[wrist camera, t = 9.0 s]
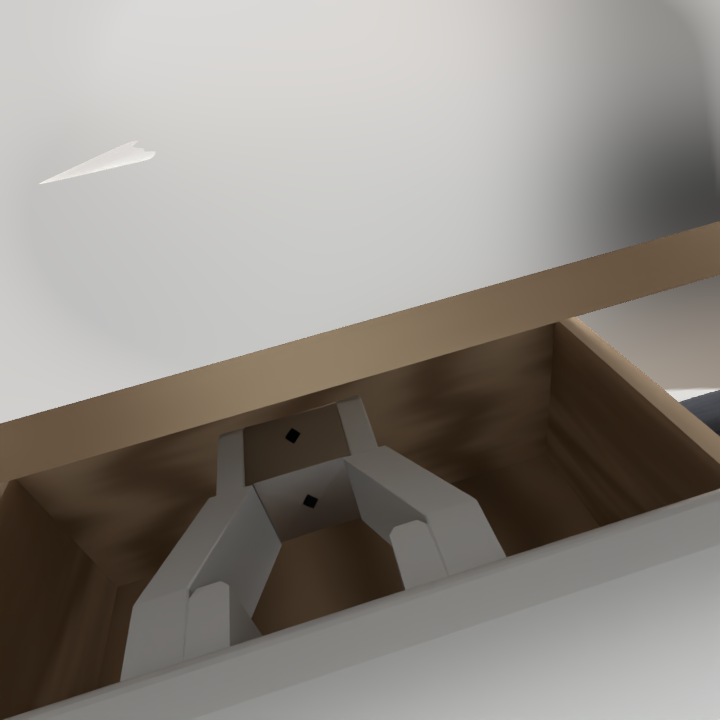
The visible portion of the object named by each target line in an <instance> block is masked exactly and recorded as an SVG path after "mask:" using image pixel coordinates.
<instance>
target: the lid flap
mask: <svg viewBox="0 0 720 720" xmlns="http://www.w3.org/2000/svg"><path fill="white" fill-rule="evenodd" d="M717 275H720V221H719V222H715V223H712V224H709V225H706V226H701V227H698V228H694V229H691V230H687V231H683V232H680V233H676V234H673V235H669V236H666V237H663V238H659V239H655V240H652V241H648V242H645V243H641V244H637V245H634V246H630V247H627V248H623V249H619V250H616V251H612V252H609V253H605V254H602V255H598V256H595V257H591V258H587V259H584V260H581V261H577V262H574V263H570V264H566V265H563V266H559V267H556V268H552V269H548V270H545V271H542V272H538V273H534V274H531V275H527V276H524V277H520V278H517V279H513V280H509V281H506V282H502V283H499V284H495V285H492V286H488V287H485V288H481V289H477V290H474V291H470V292H467V293H463V294H460V295H456V296H453V297H449V298H446V299H442V300H438V301H435V302H431V303H428V304H424V305H420V306H417V307H414V308H410V309H406V310H403V311H399V312H396V313H392V314H389V315H385V316H381V317H378V318H374V319H371V320H367V321H364V322H360V323H357V324H353V325H350V326H346V327H342V328H339V329H336V330H332V331H328V332H324V333H321V334H317V335H314V336H310V337H307V338H303V339H300V340H296V341H293V342H289V343H285V344H282V345H279V346H275V347H271V348H268V349H264V350H260V351H257V352H253V353H250V354H246V355H243V356H240V357H236V358H232V359H229V360H225V361H222V362H218V363H215V364H211V365H207V366H204V367H200V368H197V369H193V370H189V371H186V372H183V373H179V374H175V375H172V376H168V377H165V378H161V379H158V380H154V381H150V382H147V383H144V384H140V385H136V386H133V387H129V388H125V389H122V390H119V391H115V392H111V393H108V394H104V395H101V396H97V397H94V398H90V399H87V400H83V401H79V402H76V403H72V404H69V405H66V406H62V407H58V408H54V409H51V410H47V411H44V412H40V413H37V414H34V415H30V416H26V417H22V418H19V419H15V420H12V421H8V422H5V423H1V424H0V483H4V482H7V481H10V480H14V479H17V478H21V477H24V476H28V475H31V474H35V473H38V472H41V471H45V470H48V469H52V468H55V467H59V466H62V465H66V464H69V463H72V462H76V461H79V460H83V459H86V458H90V457H93V456H97V455H100V454H104V453H107V452H110V451H114V450H117V449H121V448H124V447H128V446H131V445H135V444H138V443H141V442H145V441H148V440H152V439H155V438H159V437H162V436H166V435H169V434H172V433H176V432H179V431H183V430H186V429H190V428H193V427H197V426H200V425H203V424H207V423H210V422H214V421H217V420H221V419H224V418H228V417H231V416H234V415H238V414H241V413H245V412H248V411H252V410H255V409H259V408H262V407H266V406H269V405H272V404H276V403H279V402H283V401H286V400H290V399H293V398H297V397H300V396H303V395H307V394H310V393H314V392H317V391H321V390H324V389H328V388H331V387H334V386H338V385H341V384H345V383H348V382H352V381H355V380H359V379H362V378H365V377H369V376H372V375H376V374H379V373H383V372H386V371H390V370H393V369H396V368H400V367H403V366H407V365H410V364H414V363H417V362H421V361H424V360H428V359H431V358H434V357H438V356H441V355H445V354H448V353H452V352H455V351H459V350H462V349H465V348H469V347H472V346H476V345H479V344H483V343H486V342H490V341H493V340H496V339H500V338H503V337H507V336H510V335H514V334H517V333H521V332H524V331H527V330H531V329H534V328H538V327H541V326H545V325H548V324H552V323H555V322H558V321H562V320H565V319H569V318H572V317H576V316H579V315H583V314H586V313H589V312H593V311H596V310H600V309H603V308H607V307H610V306H614V305H617V304H621V303H624V302H627V301H631V300H634V299H638V298H641V297H644V296H648V295H652V294H655V293H658V292H662V291H665V290H668V289H672V288H676V287H679V286H682V285H686V284H689V283H693V282H696V281H700V280H703V279H707V278H710V277H713V276H717Z"/></svg>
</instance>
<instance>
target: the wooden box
mask: <svg viewBox="0 0 720 720" xmlns="http://www.w3.org/2000/svg"><path fill="white" fill-rule="evenodd" d="M355 395H359V396H360V397H361V400H362V403H363V405H364V408H365V411H366V414H367V417H368V419H369V422H370V425H371V428H372V431H373V434H374V436H375V439H376V442H377V445H378V447H381V446H385V445H386V446H387V447H389V448H391V449H392V450H394V451H396V452H397V453H399V454H401V455H402V456H404V457H406V458H407V459H409V460H411V461H412V462H414V463H416V464H417V465H419V466H421V467H422V468H424V469H426V470H428V471H429V472H431V473H433V474H434V475H436V476H438V477H439V478H441V479H443V480H444V481H446V482H448V483H449V484H451V485H453V486H454V487H456V488H458V489H459V490H461V491H463V492H464V493H466V494H468V495H470V496H471V497H473V498H475V499H476V500H477V502H478V503H479V505H480V507H481V509H482V511H483V513H484V515H485V517H486V519H487V521H488V523H489V525H490V526H491V528H492V530H493V532H494V534H495V536H496V538H497V540H498V542H499V544H500V546H501V548H502V549H503V551H504V553H505V555H506V557H509V556H512V555H515V554H518V553H521V552H525V551H528V550H531V549H534V548H537V547H540V546H543V545H546V544H549V543H552V542H556V541H559V540H562V539H565V538H568V537H571V536H574V535H577V534H580V533H583V532H587V531H590V530H593V529H596V528H599V527H602V526H605V525H608V524H611V523H615V522H618V521H621V520H624V519H627V518H630V517H633V516H636V515H639V514H642V513H646V512H649V511H652V510H655V509H658V508H661V507H664V506H667V505H670V504H673V503H677V502H680V501H683V500H686V499H689V498H692V497H695V496H698V495H701V494H704V493H708V492H711V491H714V490H717V489H720V436H719V435H717V434H716V433H715V432H714V431H713V430H711V429H710V428H709V427H708V426H707V425H705V424H704V423H703V422H702V421H701V420H699V419H698V418H697V417H696V416H695V415H693V414H692V413H691V412H690V411H689V410H687V409H686V408H685V407H684V406H683V405H681V404H680V403H679V402H678V401H677V400H675V399H674V398H673V397H672V396H671V395H669V394H668V393H667V392H666V391H665V390H663V389H662V388H661V387H660V386H659V385H657V384H656V383H655V382H654V381H652V380H651V379H650V378H649V377H648V376H647V375H645V374H644V373H643V372H642V371H641V370H639V369H638V368H637V367H636V366H634V365H633V364H632V363H631V362H630V361H629V360H627V359H626V358H625V357H624V356H623V355H621V354H620V353H619V352H618V351H617V350H615V349H614V348H613V347H611V345H609V344H608V343H607V342H606V341H604V340H603V339H602V338H601V337H600V336H598V335H597V334H596V333H595V332H594V331H592V330H591V329H590V328H589V327H588V326H586V325H585V324H584V323H583V322H582V321H581V320H579V319H578V318H577V317H572V318H569V319H565V320H562V321H558V322H555V323H552V324H548V325H545V326H541V327H538V328H534V329H531V330H527V331H524V332H521V333H517V334H514V335H510V336H507V337H503V338H500V339H496V340H493V341H490V342H486V343H483V344H479V345H476V346H472V347H469V348H465V349H462V350H459V351H455V352H452V353H448V354H445V355H441V356H438V357H434V358H431V359H428V360H424V361H421V362H417V363H414V364H410V365H407V366H403V367H400V368H396V369H393V370H390V371H386V372H383V373H379V374H376V375H372V376H369V377H365V378H362V379H359V380H355V381H352V382H348V383H345V384H341V385H338V386H334V387H331V388H328V389H324V390H321V391H317V392H314V393H310V394H307V395H303V396H300V397H297V398H293V399H290V400H286V401H283V402H279V403H276V404H272V405H269V406H266V407H262V408H259V409H255V410H252V411H248V412H245V413H241V414H238V415H234V416H231V417H228V418H224V419H221V420H217V421H214V422H210V423H207V424H203V425H200V426H197V427H193V428H190V429H186V430H183V431H179V432H176V433H172V434H169V435H166V436H162V437H159V438H155V439H152V440H148V441H145V442H141V443H138V444H135V445H131V446H128V447H124V448H121V449H117V450H114V451H110V452H107V453H104V454H100V455H97V456H93V457H90V458H86V459H83V460H79V461H76V462H72V463H69V464H66V465H62V466H59V467H55V468H52V469H48V470H45V471H41V472H38V473H35V474H31V475H28V476H24V477H21V478H17V479H14V480H10V481H7V482H4V483H0V720H3V719H6V718H9V717H12V716H15V715H19V714H22V713H25V712H28V711H31V710H34V709H37V708H40V707H43V706H46V705H50V704H53V703H56V702H59V701H62V700H65V699H68V698H71V697H74V696H77V695H81V694H84V693H87V692H90V691H93V690H96V689H99V688H102V687H105V686H109V685H112V684H115V683H118V682H120V678H121V672H122V667H123V661H124V655H125V649H126V643H127V638H128V632H129V626H130V620H131V614H132V608H133V605H134V604H135V602H136V601H137V600H138V598H139V597H140V595H141V594H142V592H143V591H144V590H145V588H146V587H147V585H148V584H149V583H150V581H151V580H152V578H153V577H154V575H155V574H156V573H157V571H158V570H159V568H160V567H161V566H162V564H163V563H164V561H165V560H166V558H167V557H168V556H169V554H170V553H171V551H172V550H173V548H174V547H175V546H176V544H177V543H178V541H179V540H180V539H181V537H182V536H183V534H184V533H185V531H186V530H187V529H188V527H189V526H190V524H191V523H192V522H193V520H194V519H195V517H196V516H197V514H198V513H199V512H200V510H201V509H202V507H203V506H204V505H205V503H206V502H207V500H208V499H209V498H211V497H214V496H216V489H217V457H218V439H219V437H220V435H221V434H225V433H228V432H232V431H236V430H239V429H244V428H245V427H249V426H253V425H257V424H260V423H264V422H268V421H272V420H275V419H279V418H283V417H287V416H290V415H294V414H297V413H301V412H304V411H307V410H311V409H314V408H317V407H321V406H324V405H328V404H331V403H334V402H336V401H339V400H342V399H345V398H348V397H352V396H355ZM336 405H337V404H336ZM337 409H338V408H337ZM281 544H282V546H281V548H280V551H279V553H278V556H277V558H276V560H275V563H274V565H273V567H272V570H271V572H270V575H269V577H268V579H267V582H266V584H265V587H264V589H263V591H262V594H261V596H260V599H259V601H258V603H257V606H256V608H255V611H254V613H253V615H252V618H251V619H252V621H253V622H254V624H255V625H256V627H257V628H258V630H259V631H260V633H261V634H262V636H264V635H268V634H271V633H274V632H277V631H280V630H283V629H286V628H289V627H292V626H295V625H299V624H302V623H305V622H308V621H311V620H314V619H317V618H320V617H323V616H326V615H329V614H333V613H336V612H339V611H342V610H345V609H348V608H351V607H354V606H357V605H360V604H363V603H367V602H370V601H373V600H376V599H379V598H382V597H385V596H388V595H391V594H394V593H397V592H401V591H403V587H402V583H401V579H400V575H399V571H398V567H397V563H396V559H395V555H394V551H393V547H392V546H391V545H390V544H389V543H388V542H386V541H385V540H384V539H383V538H382V537H381V536H380V535H379V534H377V533H376V532H375V531H374V530H373V529H372V528H371V527H370V526H368V525H367V524H366V523H365V522H364V521H363V520H362V518H359V519H355V520H352V521H348V522H345V523H341V524H338V525H334V526H331V527H327V528H323V529H320V530H317V531H314V532H311V533H308V534H305V535H302V536H299V537H296V538H293V539H291V540H288V541H285V542H282V543H281Z"/></svg>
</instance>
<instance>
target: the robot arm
mask: <svg viewBox="0 0 720 720" xmlns="http://www.w3.org/2000/svg"><path fill="white" fill-rule="evenodd" d="M336 404H337V405H336ZM337 408H338V409H337ZM359 518H362V520H363V521H364V522H365V523H366V524H367V525H368V526H370V527H371V528H372V529H373V530H374V531H375V532H376V533H377V534H379V535H380V536H381V537H382V538H383V539H384V540H385V541H386V542H388V543H389V544H390V545H391V546H392V547H393V551H394V555H395V559H396V563H397V567H398V571H399V575H400V579H401V583H402V587H403V591H401V592H397V593H394V594H391V595H388V596H385V597H382V598H379V599H376V600H373V601H370V602H367V603H363V604H360V605H357V606H354V607H351V608H348V609H345V610H342V611H339V612H336V613H333V614H329V615H326V616H323V617H320V618H317V619H314V620H311V621H308V622H305V623H302V624H299V625H295V626H292V627H289V628H286V629H283V630H280V631H277V632H274V633H271V634H268V635H264V636H262V634H261V633H260V631H259V630H258V628H257V627H256V625H255V624H254V622H253V621H252V619H251V618H252V615H253V613H254V611H255V608H256V606H257V603H258V601H259V599H260V596H261V594H262V591H263V589H264V587H265V584H266V582H267V579H268V577H269V575H270V572H271V570H272V567H273V565H274V563H275V560H276V558H277V556H278V553H279V551H280V548H281V546H282V544H281V543H282V542H285V541H288V540H291V539H293V538H296V537H299V536H302V535H305V534H308V533H311V532H314V531H317V530H320V529H323V528H327V527H331V526H334V525H338V524H341V523H345V522H348V521H352V520H355V519H359ZM3 720H720V489H717V490H714V491H711V492H708V493H704V494H701V495H698V496H695V497H692V498H689V499H686V500H683V501H680V502H677V503H673V504H670V505H667V506H664V507H661V508H658V509H655V510H652V511H649V512H646V513H642V514H639V515H636V516H633V517H630V518H627V519H624V520H621V521H618V522H615V523H611V524H608V525H605V526H602V527H599V528H596V529H593V530H590V531H587V532H583V533H580V534H577V535H574V536H571V537H568V538H565V539H562V540H559V541H556V542H552V543H549V544H546V545H543V546H540V547H537V548H534V549H531V550H528V551H525V552H521V553H518V554H515V555H512V556H509V557H506V555H505V553H504V551H503V549H502V548H501V546H500V544H499V542H498V540H497V538H496V536H495V534H494V532H493V530H492V528H491V526H490V525H489V523H488V521H487V519H486V517H485V515H484V513H483V511H482V509H481V507H480V505H479V503H478V502H477V500H476V499H475V498H473V497H471V496H470V495H468V494H466V493H464V492H463V491H461V490H459V489H458V488H456V487H454V486H453V485H451V484H449V483H448V482H446V481H444V480H443V479H441V478H439V477H438V476H436V475H434V474H433V473H431V472H429V471H428V470H426V469H424V468H422V467H421V466H419V465H417V464H416V463H414V462H412V461H411V460H409V459H407V458H406V457H404V456H402V455H401V454H399V453H397V452H396V451H394V450H392V449H391V448H389V447H387V446H386V445H385V446H381V447H378V445H377V442H376V439H375V436H374V434H373V431H372V428H371V425H370V422H369V419H368V417H367V414H366V411H365V408H364V405H363V403H362V400H361V397H360V396H359V395H355V396H352V397H348V398H345V399H342V400H339V401H336V402H334V403H331V404H328V405H324V406H321V407H317V408H314V409H311V410H307V411H304V412H301V413H297V414H294V415H290V416H287V417H283V418H279V419H275V420H272V421H268V422H264V423H260V424H257V425H253V426H249V427H245V428H244V429H239V430H236V431H232V432H228V433H225V434H221V435H220V437H219V439H218V457H217V489H216V496H214V497H211V498H209V499H208V500H207V502H206V503H205V505H204V506H203V507H202V509H201V510H200V512H199V513H198V514H197V516H196V517H195V519H194V520H193V522H192V523H191V524H190V526H189V527H188V529H187V530H186V531H185V533H184V534H183V536H182V537H181V539H180V540H179V541H178V543H177V544H176V546H175V547H174V548H173V550H172V551H171V553H170V554H169V556H168V557H167V558H166V560H165V561H164V563H163V564H162V566H161V567H160V568H159V570H158V571H157V573H156V574H155V575H154V577H153V578H152V580H151V581H150V583H149V584H148V585H147V587H146V588H145V590H144V591H143V592H142V594H141V595H140V597H139V598H138V600H137V601H136V602H135V604H134V605H133V608H132V614H131V620H130V626H129V632H128V638H127V643H126V649H125V655H124V661H123V667H122V672H121V678H120V682H118V683H115V684H112V685H109V686H105V687H102V688H99V689H96V690H93V691H90V692H87V693H84V694H81V695H77V696H74V697H71V698H68V699H65V700H62V701H59V702H56V703H53V704H50V705H46V706H43V707H40V708H37V709H34V710H31V711H28V712H25V713H22V714H19V715H15V716H12V717H9V718H6V719H3Z"/></svg>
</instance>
